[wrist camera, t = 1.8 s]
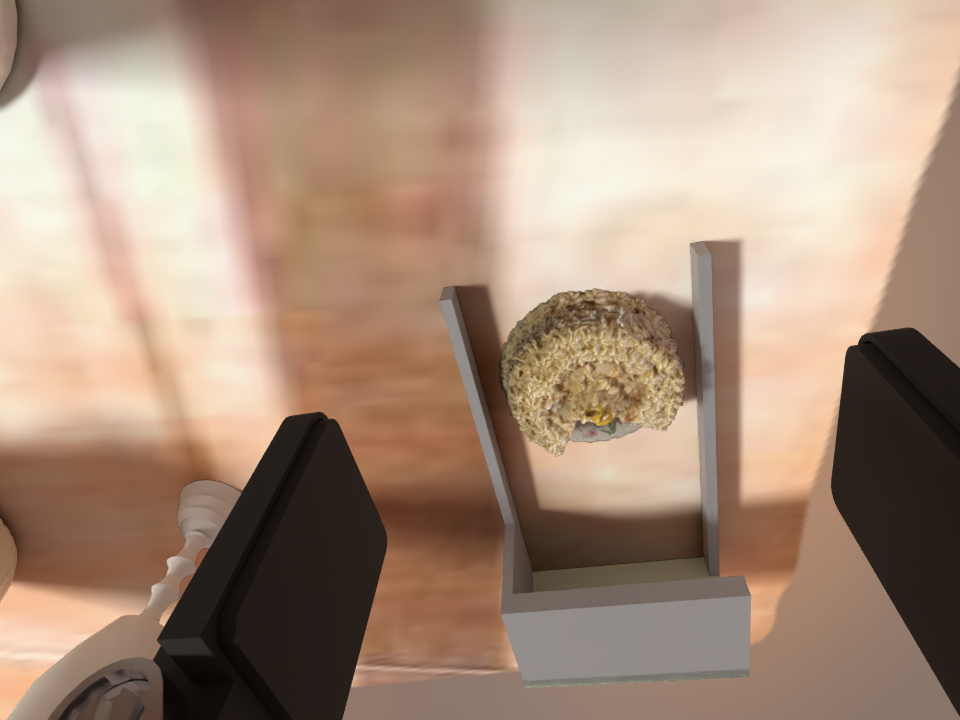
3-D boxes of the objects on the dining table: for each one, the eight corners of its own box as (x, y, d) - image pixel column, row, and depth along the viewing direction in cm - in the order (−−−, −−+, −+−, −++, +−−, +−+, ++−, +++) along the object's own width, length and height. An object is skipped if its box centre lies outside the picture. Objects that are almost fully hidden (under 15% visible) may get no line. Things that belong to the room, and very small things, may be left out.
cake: (468, 324, 32) (455, 371, 27) (645, 247, 29) (664, 284, 24) (544, 460, 36) (544, 522, 31) (708, 403, 33) (735, 462, 28)
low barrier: (443, 288, 30) (419, 370, 24) (703, 241, 28) (755, 318, 21) (526, 579, 42) (525, 688, 35) (713, 563, 40) (749, 677, 33)
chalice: (274, 486, 39) (109, 807, 24) (265, 551, 42) (117, 865, 27) (163, 457, 38) (-82, 769, 23) (163, 525, 42) (-48, 833, 26)
